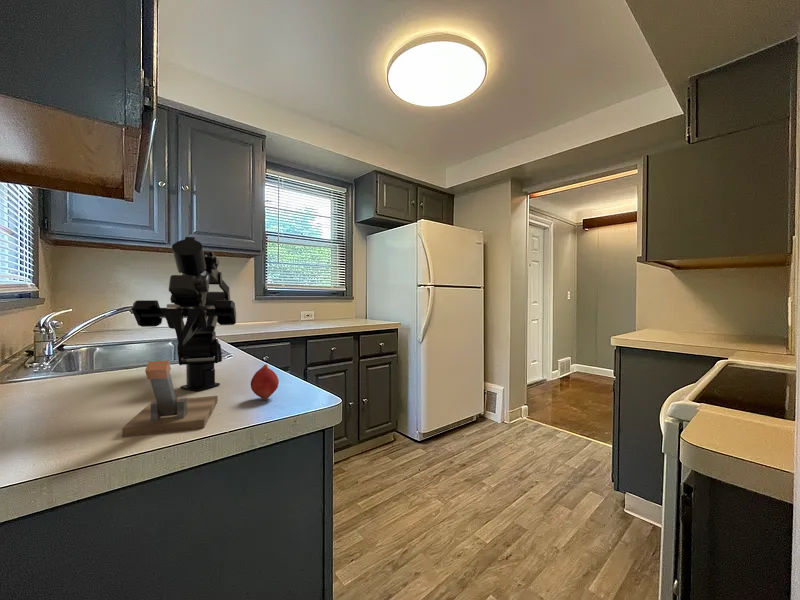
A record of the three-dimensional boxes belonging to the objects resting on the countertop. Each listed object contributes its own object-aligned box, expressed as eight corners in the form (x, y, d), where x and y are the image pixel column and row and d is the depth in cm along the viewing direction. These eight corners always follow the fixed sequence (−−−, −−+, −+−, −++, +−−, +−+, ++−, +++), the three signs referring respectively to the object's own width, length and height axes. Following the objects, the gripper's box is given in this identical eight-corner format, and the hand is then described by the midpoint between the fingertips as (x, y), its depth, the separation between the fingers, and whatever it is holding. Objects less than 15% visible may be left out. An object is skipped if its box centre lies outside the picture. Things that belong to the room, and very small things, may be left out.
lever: (162, 409, 63) (148, 361, 56) (180, 408, 64) (168, 360, 57) (159, 419, 62) (145, 370, 55) (178, 417, 63) (165, 369, 56)
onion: (245, 402, 76) (245, 365, 76) (261, 394, 82) (261, 360, 82) (268, 404, 75) (268, 367, 75) (283, 396, 80) (283, 362, 80)
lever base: (152, 408, 72) (152, 386, 72) (217, 402, 76) (217, 381, 76) (122, 436, 58) (121, 409, 57) (203, 428, 62) (203, 402, 62)
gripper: (134, 261, 71) (110, 318, 61) (234, 264, 77) (228, 317, 67) (148, 298, 79) (129, 355, 69) (238, 298, 85) (233, 351, 75)
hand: (180, 344), depth 70 cm, fingers closed
